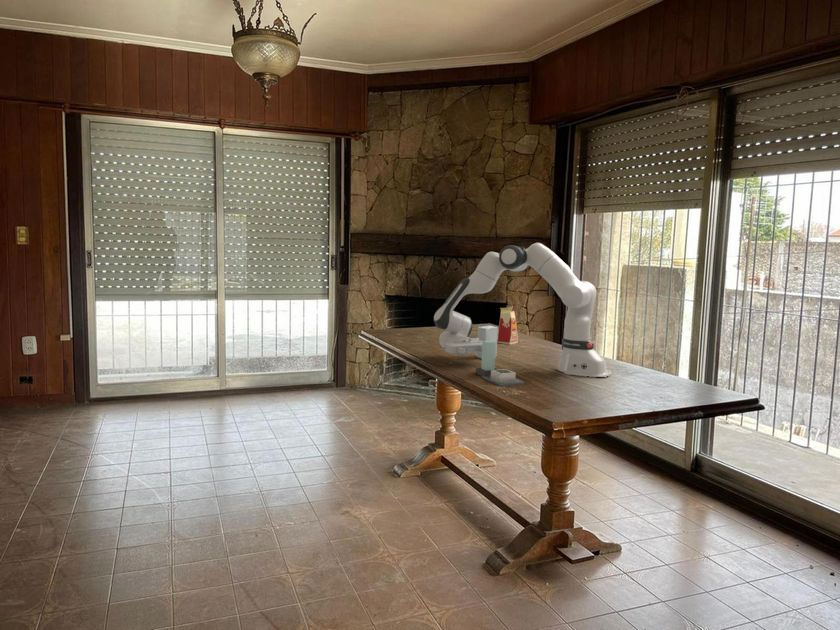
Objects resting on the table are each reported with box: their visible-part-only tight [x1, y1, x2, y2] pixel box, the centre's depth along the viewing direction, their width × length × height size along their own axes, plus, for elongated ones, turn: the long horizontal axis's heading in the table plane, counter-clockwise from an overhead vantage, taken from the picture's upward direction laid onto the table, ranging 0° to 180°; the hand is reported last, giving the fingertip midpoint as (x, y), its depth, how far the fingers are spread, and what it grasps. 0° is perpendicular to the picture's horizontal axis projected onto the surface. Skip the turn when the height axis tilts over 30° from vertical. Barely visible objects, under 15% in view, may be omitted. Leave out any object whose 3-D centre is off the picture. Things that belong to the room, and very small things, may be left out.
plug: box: [480, 341, 496, 371], centre depth 264 cm, size 4×4×14 cm
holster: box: [475, 366, 499, 377], centre depth 264 cm, size 7×7×2 cm
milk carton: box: [497, 305, 519, 345], centre depth 342 cm, size 9×9×20 cm
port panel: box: [481, 368, 525, 387], centre depth 254 cm, size 14×11×4 cm
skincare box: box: [476, 324, 499, 360], centre depth 299 cm, size 8×6×15 cm
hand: (475, 350), depth 274 cm, fingers open, 8 cm apart
